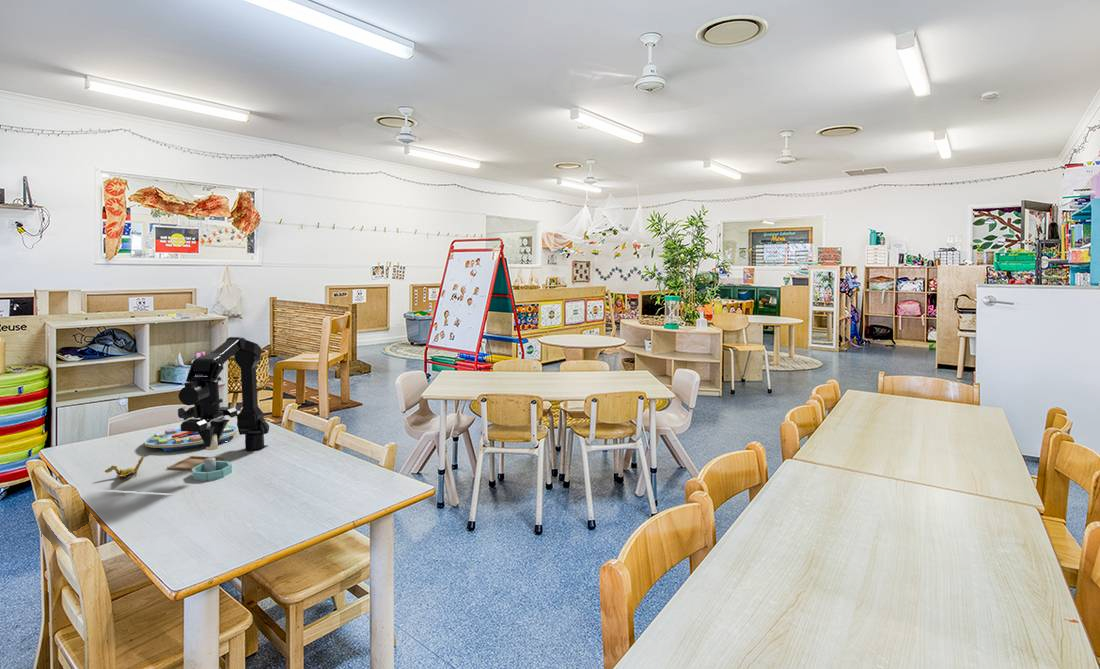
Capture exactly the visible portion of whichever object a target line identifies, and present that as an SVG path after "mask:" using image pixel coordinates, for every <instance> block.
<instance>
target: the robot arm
mask: <svg viewBox="0 0 1100 669" xmlns="http://www.w3.org/2000/svg"><path fill="white" fill-rule="evenodd" d="M262 353H263V351H262V348H261V346H260V345H259V344H258V343H255V342H254V341H250V340H248V339H246V338H244V337H242V336H230V337H227V338H226V340H225V341H224V342H223V343H222V344H220V345H219V346H218V347H217V348H215V349H214V350H213V351H212V352H211V353H209V354H208V353H207V354H204V355H200V356H197V357H196V358H194V360H193V361H192V363H191V364H190V368H189V371H188V374H187V376H186V379H185V382H184V387H182V388H181V389H180V390H179V393H178V399H179V401H180V403H182V404H183V405H185V406H183V407H180V408H178V409H177V416H178V418H179V419H182V420H183V421H182V422H181V424H180V427H179V428H180V429H181V431H187V432H198V433H199V434H200V436H201V438H202V440H203V442H204V444H205V445H204V446H205V448H206V447H210V445H211V441H212V436H213V433H214V434H217V443H219V442H218V441H219V439H220V437H221V434H222V432H223V430H224V428H225V426H226V425H227V424H228V423H229V422H230V419H226V417H225V416H228V417H229V418H236V419H237V421H236V426H237V427H238V435H240V436H242V435H244V445H245V447H244V448H243V449H241V451H244V452H259V451H262V450H264V449H265V448H267V447H269V444H266V445H265V436H264V435H266V434H269V431H270V424H269V423H268V422H267V421H266V420H265V417H264V413H263V411H262V409H261V408H260V407H259V404H258V403H259V402H258V384H257V366H258V365H259V363H260V362H261V358H262V357H261V355H262ZM232 357H234V362H235V363H236V365H237V366H238V367H239V370H240V383H241V384H240V385H241V402H242V406H241V407H242V409H241V410H240V411H239V413H238V410H237V408H236V407H233V406H221V405H220V404H221V403H223V402H224V401H223V398H220V391H219V390H220V389H219V388H220V387H219V382H220V381H222V378H221V377H220V374H221V372H222V371H223V370H224V364H225V363H226V362H227V361H229V359H231V358H232ZM187 406H189V407H187Z"/></svg>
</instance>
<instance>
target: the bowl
mask: <svg viewBox="0 0 1100 669" xmlns="http://www.w3.org/2000/svg"><path fill="white" fill-rule="evenodd" d="M232 473H233V466H232V463H231V462H230V461H227V460H226V461H225V460H222V461H216V471H212V472H205V468H204V463H202V464H200V465H198V466H196V467H194V468H192V471H191V477H192V479H193V480H194V481H203V482H209V481H213V480H218V479H223V478H225V477H227V476H229V475H230V474H232Z"/></svg>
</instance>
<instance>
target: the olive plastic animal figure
mask: <svg viewBox="0 0 1100 669" xmlns="http://www.w3.org/2000/svg"><path fill="white" fill-rule="evenodd" d="M144 458H145V456H144V455H142V456H140V458H139V460H138V462H137V464H136V465H135V467H134V468H132V467H130V468H124V469H122V468H120V469H119V468H118V466H117V465H113V464H112V465H111V466H110V467H108V468H107V469H105V470H104V472H105V473H110V472H113V471H115V473H116V475H118V479H119V480H121V479H123V478H126V477H127V475H129V474H132V475H133V477H136V476H137V475H138V470H139V468H140V466H141V464H142V462H143V460H144Z"/></svg>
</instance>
